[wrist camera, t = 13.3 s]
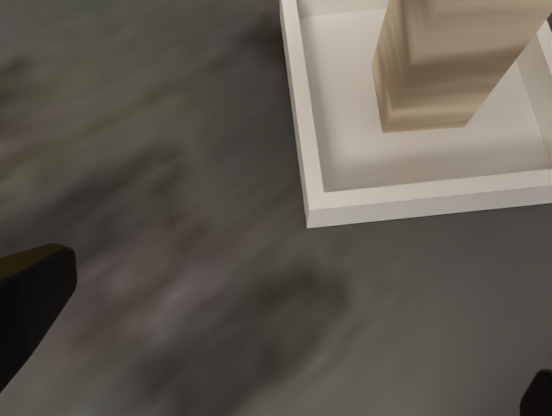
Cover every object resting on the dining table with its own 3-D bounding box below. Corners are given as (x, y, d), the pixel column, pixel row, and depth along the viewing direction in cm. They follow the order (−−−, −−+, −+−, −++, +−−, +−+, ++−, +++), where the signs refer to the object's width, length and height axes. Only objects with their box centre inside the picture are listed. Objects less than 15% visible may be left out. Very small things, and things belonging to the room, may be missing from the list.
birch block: (465, 127, 24) (655, -120, 11) (381, 134, 24) (480, -106, 11) (448, 58, 25) (601, -227, 13) (370, 64, 25) (446, -214, 13)
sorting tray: (568, 201, 23) (607, 179, 20) (306, 228, 23) (309, 210, 20) (498, -4, 27) (522, -46, 25) (280, 18, 27) (278, -21, 25)
